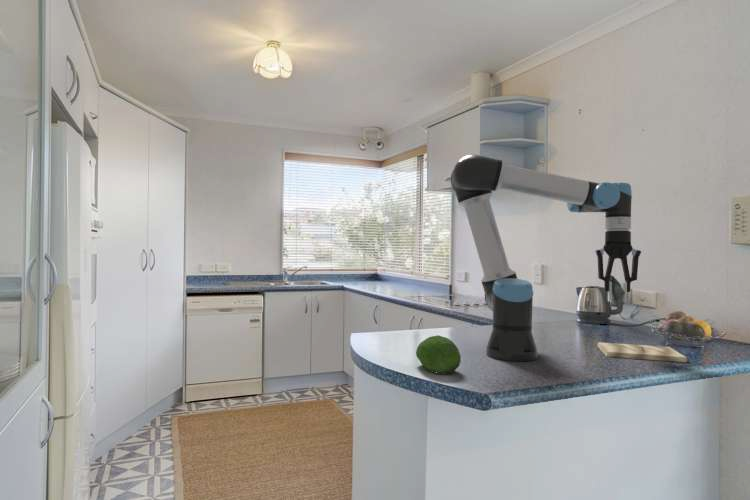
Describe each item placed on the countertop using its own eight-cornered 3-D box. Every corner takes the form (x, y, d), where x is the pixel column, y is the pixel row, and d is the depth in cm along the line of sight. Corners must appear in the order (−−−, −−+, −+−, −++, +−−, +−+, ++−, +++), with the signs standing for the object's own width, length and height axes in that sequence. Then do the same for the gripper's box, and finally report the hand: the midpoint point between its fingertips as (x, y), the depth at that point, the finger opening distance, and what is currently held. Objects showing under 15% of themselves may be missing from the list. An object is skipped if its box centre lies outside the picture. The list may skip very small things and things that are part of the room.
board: (606, 356, 148) (607, 351, 148) (597, 346, 164) (597, 342, 164) (686, 362, 142) (686, 357, 142) (669, 351, 158) (669, 346, 158)
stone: (626, 308, 149) (628, 277, 149) (612, 307, 150) (614, 276, 150) (619, 305, 159) (620, 275, 159) (606, 304, 160) (607, 274, 160)
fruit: (407, 367, 131) (408, 331, 131) (438, 364, 134) (439, 329, 134) (433, 381, 117) (434, 341, 117) (467, 378, 120) (468, 339, 120)
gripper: (592, 230, 153) (591, 301, 153) (649, 230, 148) (648, 304, 148) (588, 230, 160) (587, 299, 160) (643, 230, 156) (642, 301, 156)
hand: (617, 301), depth 154 cm, fingers closed on stone, 4 cm apart
